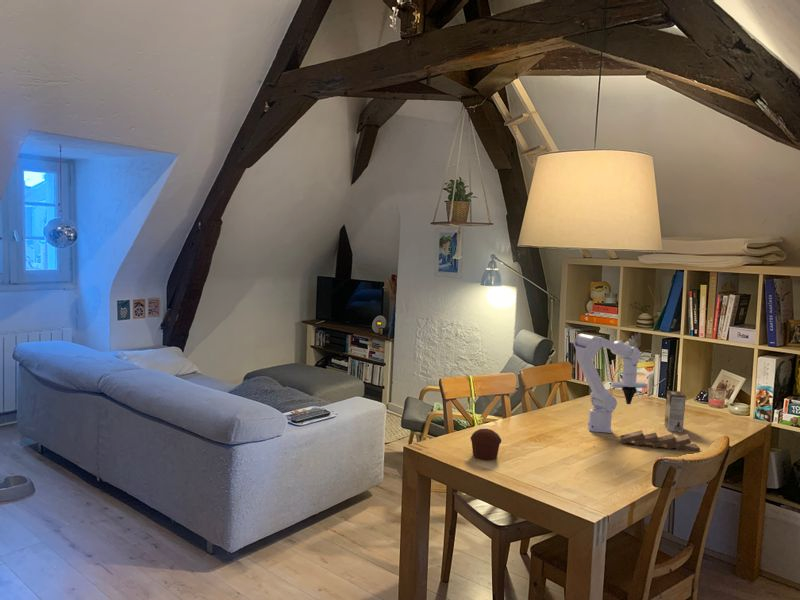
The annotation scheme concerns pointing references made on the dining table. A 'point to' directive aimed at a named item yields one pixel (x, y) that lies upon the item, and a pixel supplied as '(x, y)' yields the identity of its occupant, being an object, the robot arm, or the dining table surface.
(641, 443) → the domino
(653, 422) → the dining table surface
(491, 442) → the muffin
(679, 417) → the coffee box
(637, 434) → the domino
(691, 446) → the domino
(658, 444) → the domino
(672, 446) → the domino
